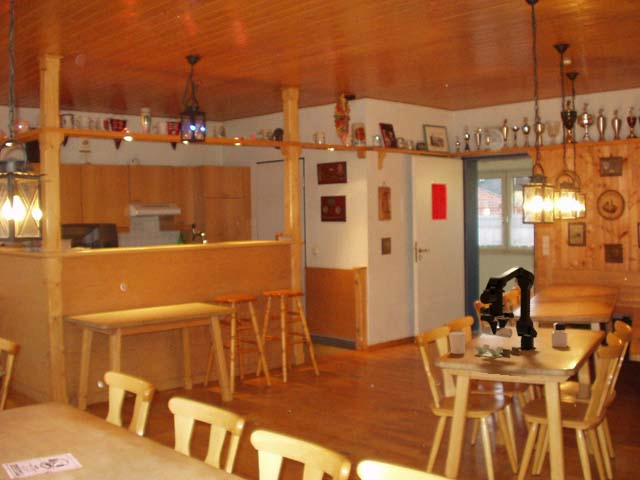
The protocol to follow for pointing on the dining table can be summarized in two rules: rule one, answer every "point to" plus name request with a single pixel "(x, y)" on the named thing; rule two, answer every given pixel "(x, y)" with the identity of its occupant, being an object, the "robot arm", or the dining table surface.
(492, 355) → the cradle
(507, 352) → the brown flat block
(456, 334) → the white cup
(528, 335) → the robot arm
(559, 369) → the dining table surface
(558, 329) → the medicine bottle
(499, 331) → the brown rounded bar
